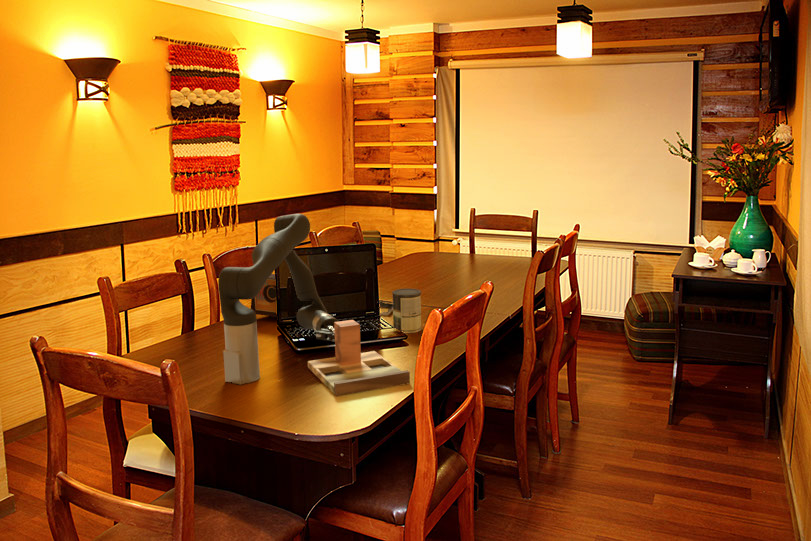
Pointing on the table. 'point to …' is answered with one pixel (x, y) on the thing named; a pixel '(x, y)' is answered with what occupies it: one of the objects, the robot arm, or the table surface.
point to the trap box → (358, 374)
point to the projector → (266, 299)
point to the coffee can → (407, 310)
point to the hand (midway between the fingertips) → (344, 339)
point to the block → (347, 342)
